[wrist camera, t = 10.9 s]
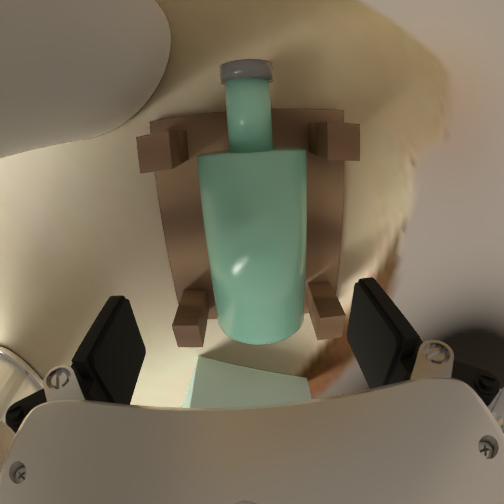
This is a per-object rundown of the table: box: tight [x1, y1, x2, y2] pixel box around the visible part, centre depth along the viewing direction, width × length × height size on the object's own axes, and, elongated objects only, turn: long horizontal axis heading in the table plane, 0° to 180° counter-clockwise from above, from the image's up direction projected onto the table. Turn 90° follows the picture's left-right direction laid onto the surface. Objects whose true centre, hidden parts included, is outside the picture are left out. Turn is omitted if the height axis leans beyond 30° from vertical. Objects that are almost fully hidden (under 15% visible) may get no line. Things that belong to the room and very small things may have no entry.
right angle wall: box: [182, 356, 311, 408], centre depth 27 cm, size 12×12×8 cm
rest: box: [136, 109, 360, 347], centre depth 18 cm, size 16×13×6 cm
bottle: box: [197, 59, 307, 345], centre depth 16 cm, size 16×6×6 cm, turn 3°
